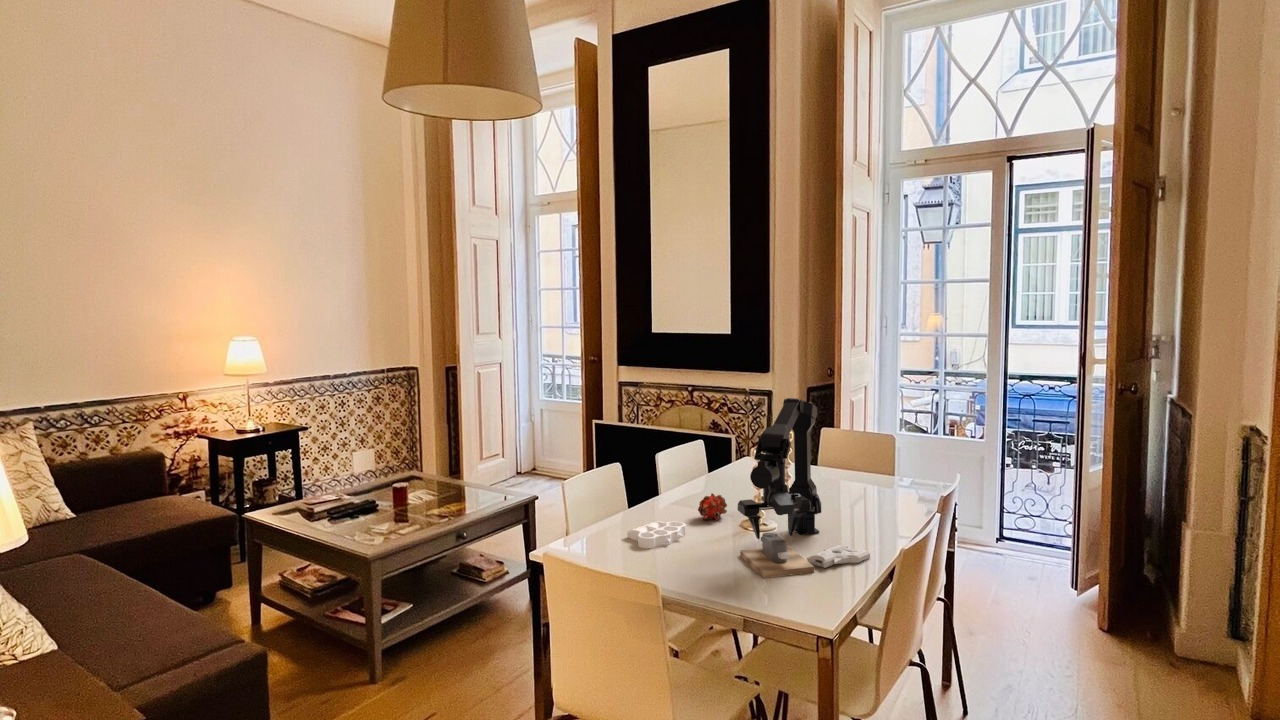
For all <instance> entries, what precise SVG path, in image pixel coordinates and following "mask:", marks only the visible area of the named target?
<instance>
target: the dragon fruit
mask: <svg viewBox="0 0 1280 720" xmlns="http://www.w3.org/2000/svg"><path fill="white" fill-rule="evenodd" d="M727 507H728V504H727V503H726V499H725V497H723V496H722V494H717V495H715V494H714V493H710V495H705V496H704V497H703V498H702V499H701V500H700V502H699V507H698V508H697V512H698V513H699V514H700V516H701V517H703V518H702V520H703V521H704V520H705V521H709V520H708V519H710V520H711V519H715V520H716V519H717V520H716V521H718V520H719V519H720V518H721V517H722V516H721V515H722V514H723V515H725V514H726V513H727V512H728V509H726V508H727Z"/></svg>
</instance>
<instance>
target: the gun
mask: <svg viewBox="0 0 1280 720" xmlns="http://www.w3.org/2000/svg"><path fill="white" fill-rule="evenodd" d="M870 558H871V552H869V551H868V550H866V549H865V548H863V549H862V550H858V549H852V548H849V547H848V545H845V544H839V545H835V546H832V547H830V548H828V549H823V551H821V552H819V553H815V554H813V555H810V556H808V557H806V560H807V561H808V562H809V563H811V564H812V565H813V566H817V567H819V568H824V569H826V568H828V567H832V566H834V565H845V564H859V563H861V562H864V561H866V560H868V559H870ZM863 560H864V561H863Z"/></svg>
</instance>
